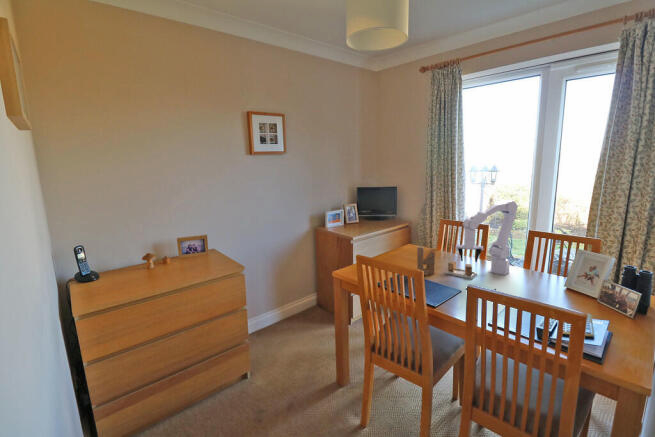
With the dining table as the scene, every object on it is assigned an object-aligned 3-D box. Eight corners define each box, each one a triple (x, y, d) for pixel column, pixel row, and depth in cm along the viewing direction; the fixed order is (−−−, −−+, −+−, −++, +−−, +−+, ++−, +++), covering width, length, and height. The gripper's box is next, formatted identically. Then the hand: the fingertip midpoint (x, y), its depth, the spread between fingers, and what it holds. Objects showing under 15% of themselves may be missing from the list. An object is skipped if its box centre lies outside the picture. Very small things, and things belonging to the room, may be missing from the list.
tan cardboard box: (470, 272, 186) (471, 264, 185) (471, 275, 182) (472, 266, 180) (464, 272, 187) (465, 263, 186) (465, 275, 183) (466, 266, 181)
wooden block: (434, 274, 189) (434, 246, 186) (419, 276, 186) (419, 248, 183) (430, 272, 193) (431, 244, 189) (415, 274, 190) (415, 247, 186)
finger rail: (476, 275, 184) (477, 264, 183) (471, 279, 179) (472, 269, 177) (452, 269, 195) (452, 259, 193) (446, 273, 189) (446, 263, 188)
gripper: (482, 237, 181) (481, 259, 183) (455, 236, 185) (455, 258, 188) (484, 240, 174) (483, 263, 177) (456, 239, 179) (456, 262, 181)
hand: (468, 261), depth 182 cm, fingers open, 7 cm apart
